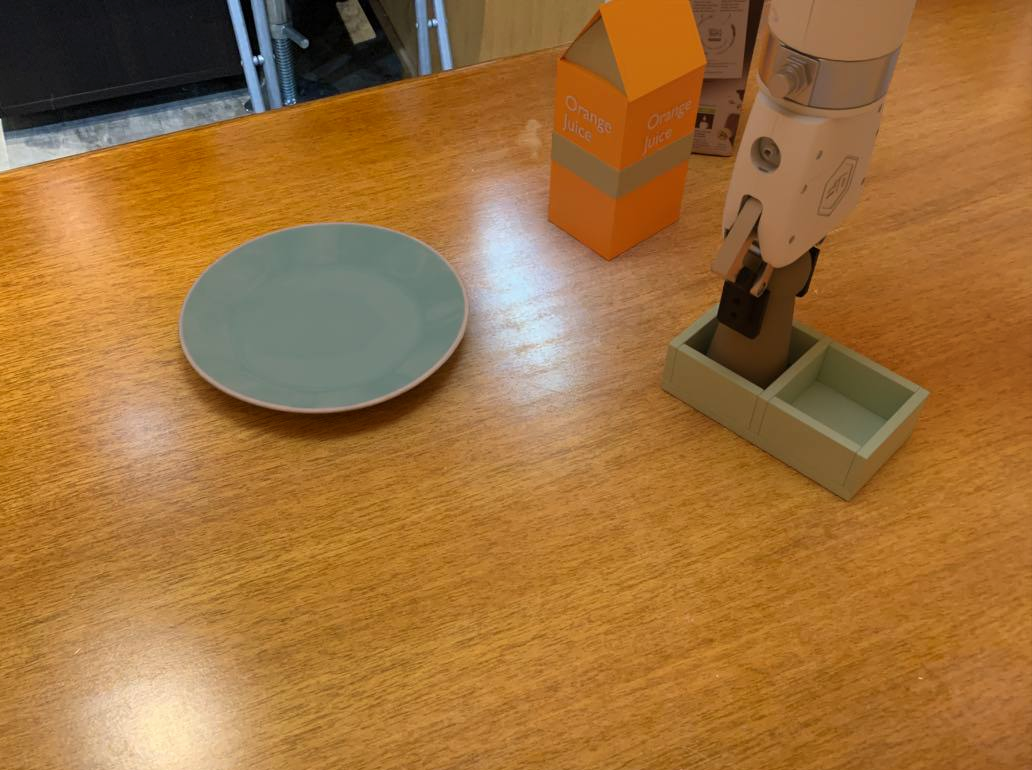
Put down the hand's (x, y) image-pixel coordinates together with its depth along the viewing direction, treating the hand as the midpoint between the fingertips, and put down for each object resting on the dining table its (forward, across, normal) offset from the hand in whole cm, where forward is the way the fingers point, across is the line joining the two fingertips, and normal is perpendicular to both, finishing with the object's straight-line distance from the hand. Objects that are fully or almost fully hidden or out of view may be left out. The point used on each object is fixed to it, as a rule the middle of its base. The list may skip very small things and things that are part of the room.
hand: (762, 305), depth 76 cm
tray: (+8, 0, -4) cm, 9 cm away
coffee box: (+8, +26, +23) cm, 36 cm away
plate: (+8, -18, +27) cm, 33 cm away
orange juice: (+8, +9, +20) cm, 24 cm away
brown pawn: (+6, 0, 0) cm, 6 cm away
